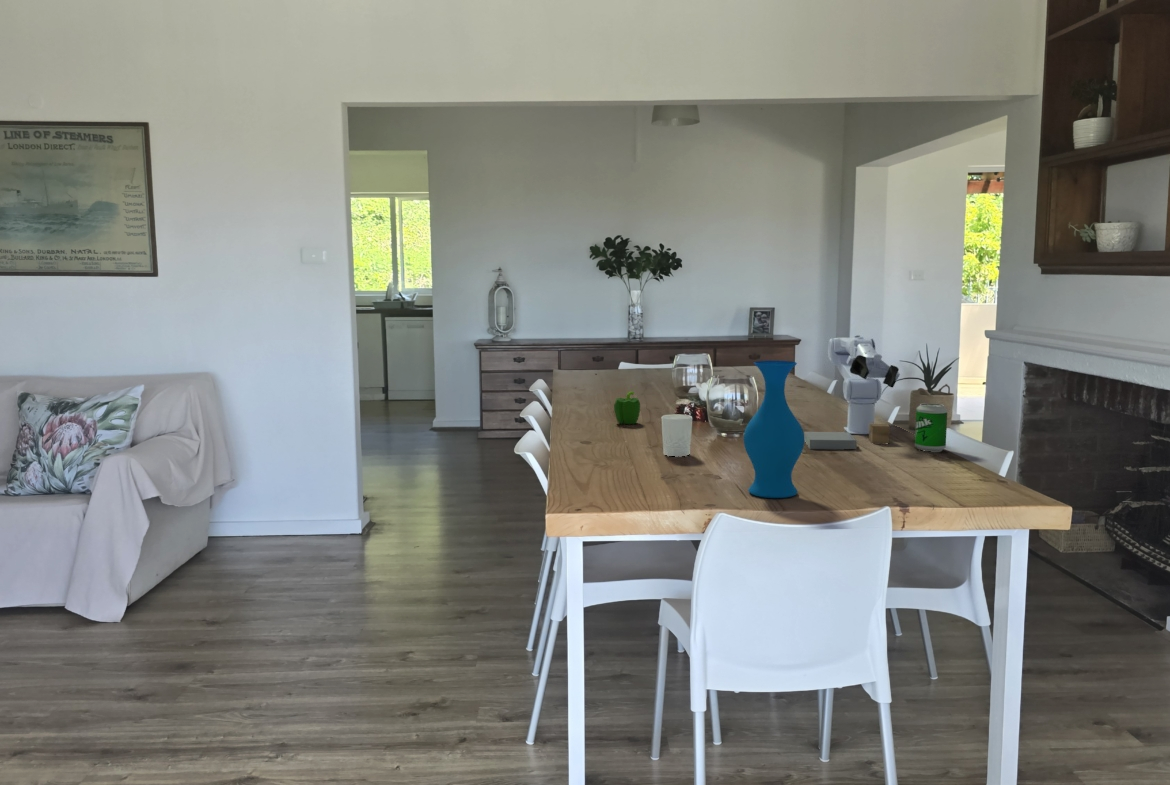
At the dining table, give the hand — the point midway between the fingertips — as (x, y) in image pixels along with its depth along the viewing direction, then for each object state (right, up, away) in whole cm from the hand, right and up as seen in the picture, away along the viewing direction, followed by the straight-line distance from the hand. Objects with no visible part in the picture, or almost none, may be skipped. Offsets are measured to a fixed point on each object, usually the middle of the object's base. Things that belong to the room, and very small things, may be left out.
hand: (879, 379), depth 233 cm
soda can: (+12, -19, -4) cm, 23 cm away
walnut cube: (+2, -17, +7) cm, 19 cm away
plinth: (-12, -18, +4) cm, 22 cm away
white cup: (-55, -20, -7) cm, 59 cm away
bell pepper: (-65, -13, +41) cm, 78 cm away
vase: (-39, -25, -48) cm, 66 cm away
